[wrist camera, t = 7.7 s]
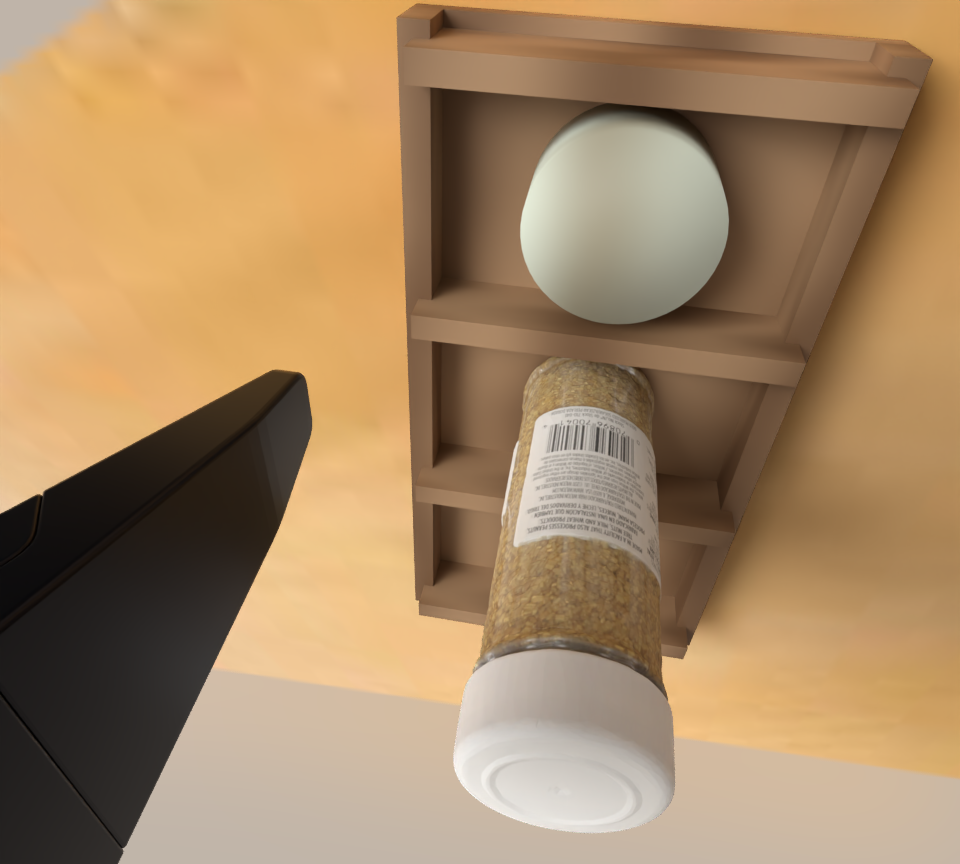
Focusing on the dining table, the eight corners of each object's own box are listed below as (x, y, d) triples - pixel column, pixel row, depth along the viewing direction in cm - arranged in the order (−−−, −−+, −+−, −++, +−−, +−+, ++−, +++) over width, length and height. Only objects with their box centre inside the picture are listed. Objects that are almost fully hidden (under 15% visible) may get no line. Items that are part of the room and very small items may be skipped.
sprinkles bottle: (504, 418, 25) (420, 796, 15) (558, 321, 22) (497, 709, 12) (617, 464, 26) (608, 861, 16) (683, 374, 23) (725, 791, 13)
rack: (905, 40, 17) (949, 70, 14) (686, 606, 31) (690, 666, 29) (416, 3, 18) (385, 25, 16) (425, 565, 32) (410, 618, 30)
